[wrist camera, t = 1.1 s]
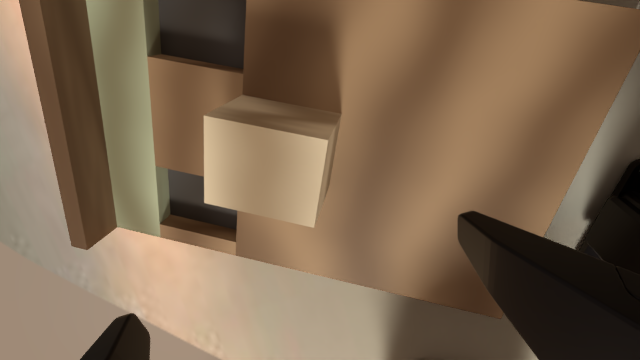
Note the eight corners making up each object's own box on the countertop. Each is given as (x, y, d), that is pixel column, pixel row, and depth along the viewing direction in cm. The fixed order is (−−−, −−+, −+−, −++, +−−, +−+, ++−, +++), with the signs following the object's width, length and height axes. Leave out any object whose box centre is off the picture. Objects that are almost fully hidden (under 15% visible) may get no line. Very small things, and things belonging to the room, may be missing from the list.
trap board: (634, 12, 14) (714, 12, 11) (494, 300, 21) (514, 356, 18) (81, -69, 17) (-1, -91, 13) (119, 211, 24) (71, 246, 20)
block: (341, 113, 17) (328, 140, 13) (329, 187, 19) (313, 227, 15) (242, 94, 17) (203, 115, 14) (239, 167, 19) (204, 203, 16)
